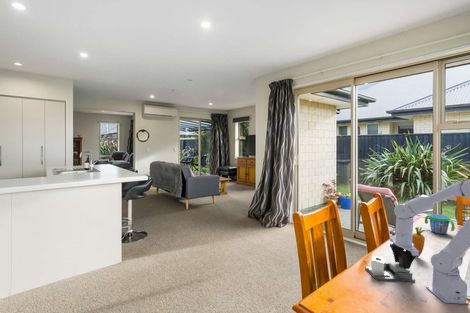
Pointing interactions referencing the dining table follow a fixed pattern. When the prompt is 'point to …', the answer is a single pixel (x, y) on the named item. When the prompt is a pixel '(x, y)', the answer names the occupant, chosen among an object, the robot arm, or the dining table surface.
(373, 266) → the block
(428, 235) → the dining table surface
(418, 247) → the carrot
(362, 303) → the dining table surface
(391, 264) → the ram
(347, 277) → the dining table surface
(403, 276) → the press
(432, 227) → the snack cup
